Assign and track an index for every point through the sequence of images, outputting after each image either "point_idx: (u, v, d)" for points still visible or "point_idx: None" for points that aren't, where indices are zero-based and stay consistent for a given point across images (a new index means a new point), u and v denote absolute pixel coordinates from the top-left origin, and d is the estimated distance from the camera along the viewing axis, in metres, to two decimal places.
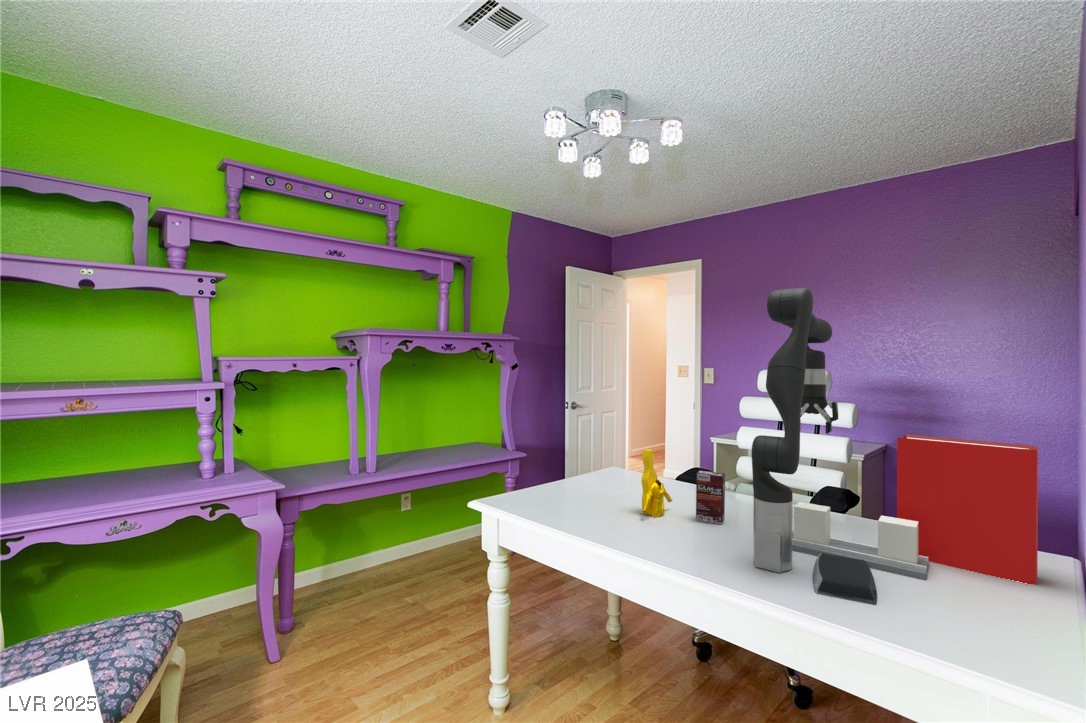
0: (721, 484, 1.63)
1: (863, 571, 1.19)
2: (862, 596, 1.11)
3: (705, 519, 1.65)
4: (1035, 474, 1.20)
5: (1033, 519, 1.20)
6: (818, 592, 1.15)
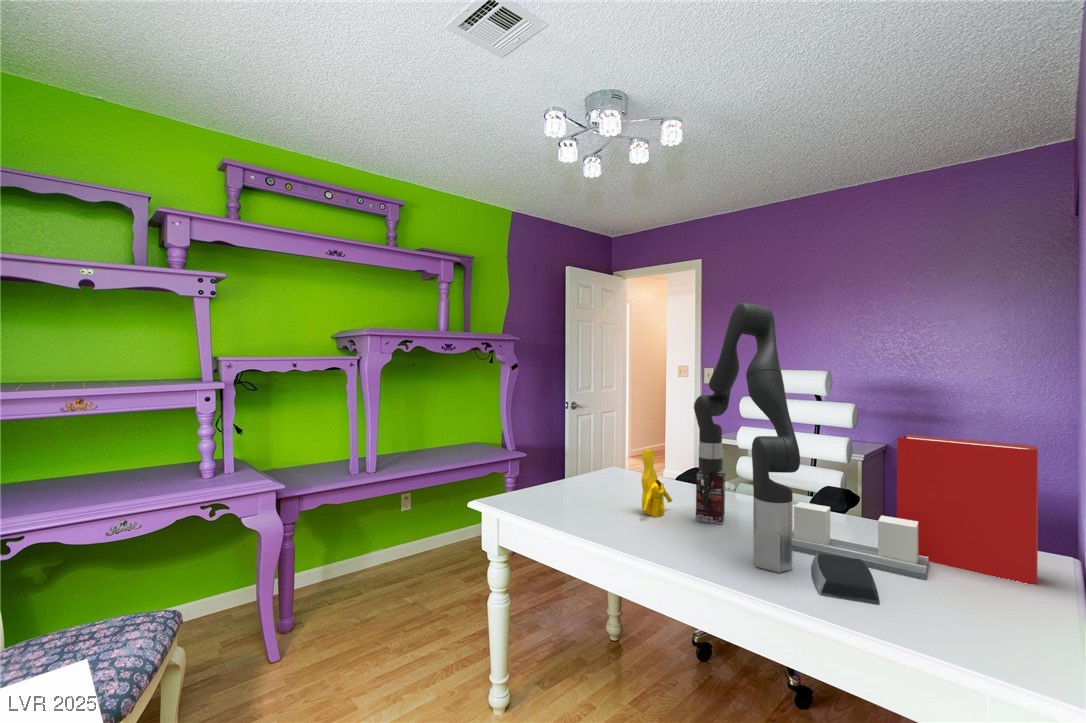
0: (721, 484, 1.63)
1: (863, 570, 1.19)
2: (866, 597, 1.11)
3: (705, 519, 1.65)
4: (1035, 474, 1.20)
5: (1033, 519, 1.20)
6: (822, 593, 1.14)
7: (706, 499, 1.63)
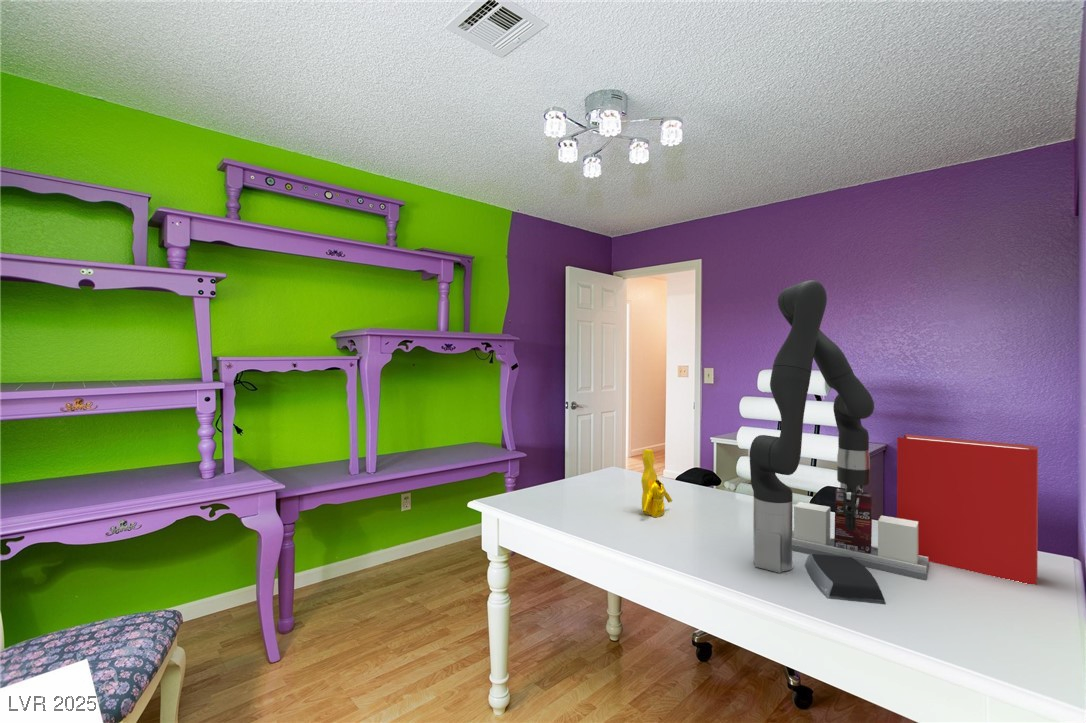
0: (869, 506, 1.33)
1: (861, 569, 1.20)
2: (872, 597, 1.11)
3: (847, 548, 1.36)
4: (1035, 474, 1.20)
5: (1033, 519, 1.20)
6: (830, 597, 1.13)
7: (851, 518, 1.33)
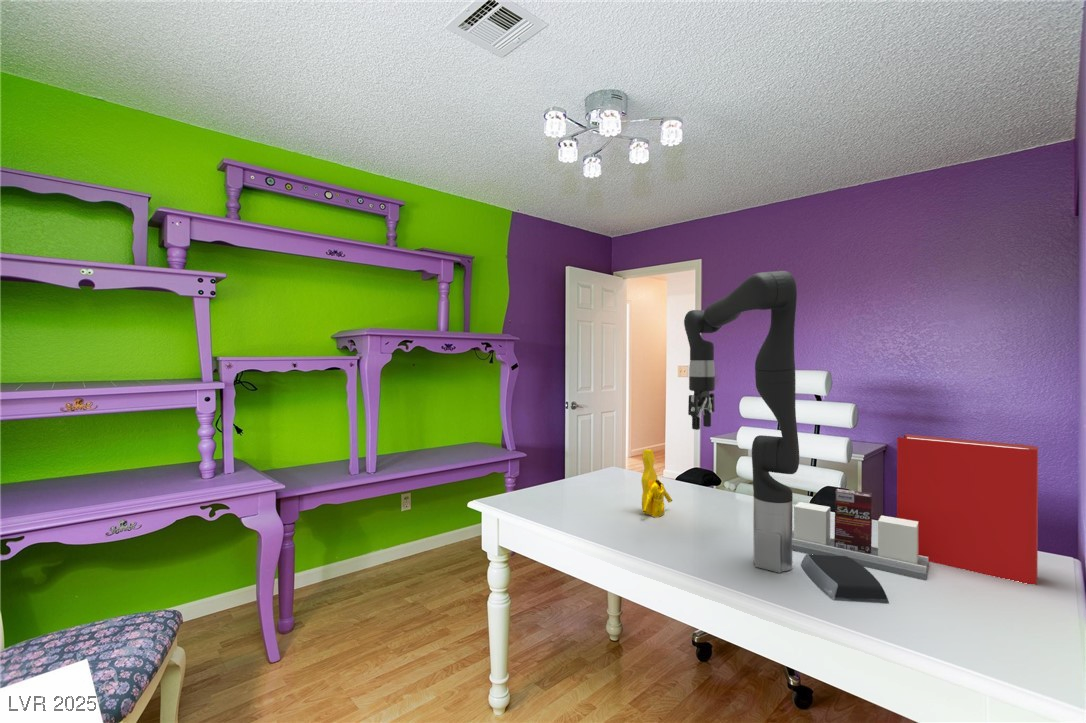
0: (869, 506, 1.33)
1: (860, 569, 1.20)
2: (876, 596, 1.11)
3: (847, 548, 1.36)
4: (1035, 474, 1.20)
5: (1033, 519, 1.20)
6: (835, 598, 1.12)
7: (695, 418, 1.51)
